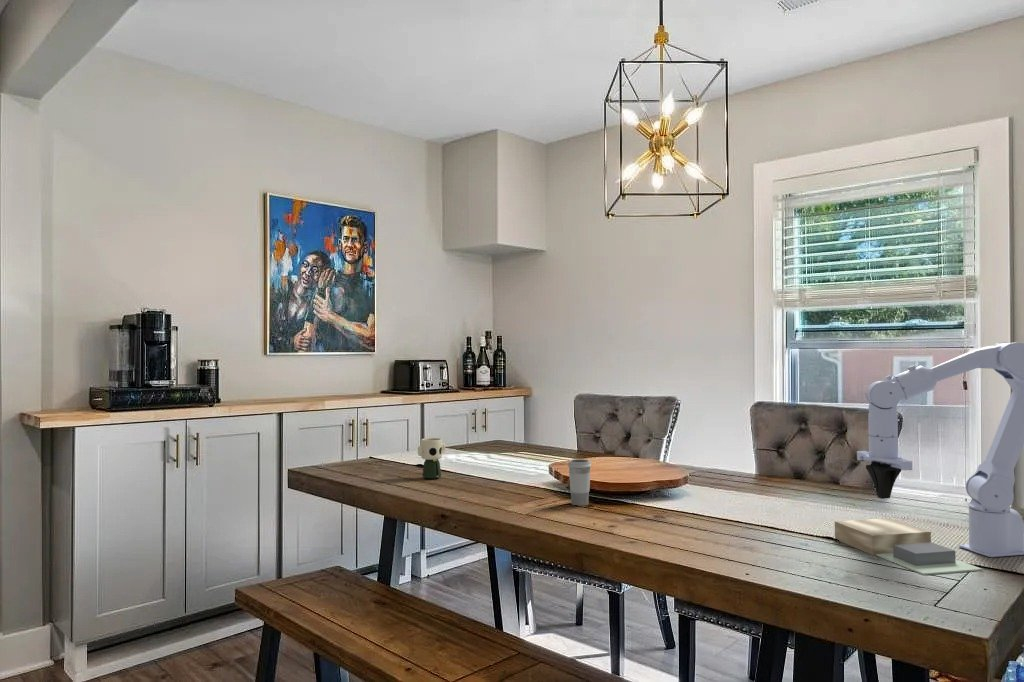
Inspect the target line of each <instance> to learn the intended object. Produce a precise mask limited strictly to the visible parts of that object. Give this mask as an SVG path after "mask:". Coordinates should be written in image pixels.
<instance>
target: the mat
mask: <svg viewBox="0 0 1024 682" xmlns="http://www.w3.org/2000/svg"><path fill="white" fill-rule="evenodd" d="M875 556H877V557H879V558H881V559H884V560H887V561H889V562H891V563H893V562H894V564H896V563H897V564H896V565H898V564H899V566H901V567H903V568H905V567H906V569H908V570H910V569H911V571H913V572H915V573H917V574H920V575H923V576H927V575H940V574H951V573H952V574H953V573H954V574H955V573H968V572H976V571H983V568H981V567H978V566H975V565H973V564H970V563H967V562H964V561H962V560H959V559H956V563H948V564H935V565H922V566H915V565H912V564H910V563H907V562H905V561H903V560H900V559H898V558H895V557H893V553H885V554H876V555H875Z"/></svg>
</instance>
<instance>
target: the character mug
mask: <svg viewBox="0 0 1024 682" xmlns="http://www.w3.org/2000/svg"><path fill="white" fill-rule="evenodd" d="M445 452H446V443H444V442H443V439H442V438H439V437H428V438H427V437H426V438H422V439H420V445H419V446H418V447H417V455H418V457H421V459H423V460H424V462H423V468H422V477H423V478H426V479H428V478H429V479H437V476H438V478H441V477H442V470H441V469H442V468H441V463H440V459H442V457H443V455H444V454H445Z"/></svg>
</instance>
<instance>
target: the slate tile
mask: <svg viewBox="0 0 1024 682" xmlns="http://www.w3.org/2000/svg"><path fill="white" fill-rule="evenodd" d="M893 557H895V558H898V559H900V560H903V561H905V562H907V563H910V564H912V565H915V566H922V565H935V564H948V563H956V550H955V549H952V548H949V547H946V546H944V545H940V544H937V543H934V542H932V541H931V542H930V543H915V544H901V545H893Z"/></svg>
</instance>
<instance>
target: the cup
mask: <svg viewBox="0 0 1024 682" xmlns="http://www.w3.org/2000/svg"><path fill="white" fill-rule="evenodd" d="M592 465H593V464H592V463H591V460H590V459H588V458H586V459H585V458H572V459H569V460H568V463H567V466H566V467H568V468H569V471H568V473H569V474H568V477H569V479H568V480H569V491H570V501H571V505H573V506H575V505H578V506H577V507H584V506H585V505H586V506H588V505H589V498H590V496H589V495H590V493H589V492H590V486H591V485H590V483H591V467H592Z"/></svg>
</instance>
